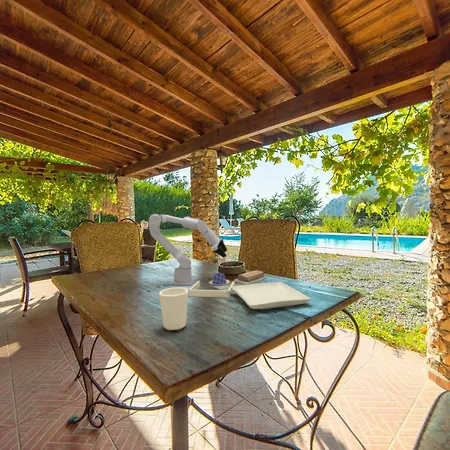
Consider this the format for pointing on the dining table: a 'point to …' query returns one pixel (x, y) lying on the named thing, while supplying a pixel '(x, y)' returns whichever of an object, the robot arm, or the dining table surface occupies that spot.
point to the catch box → (209, 291)
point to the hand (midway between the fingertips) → (225, 254)
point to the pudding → (219, 279)
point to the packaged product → (250, 277)
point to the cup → (174, 308)
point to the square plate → (269, 295)
